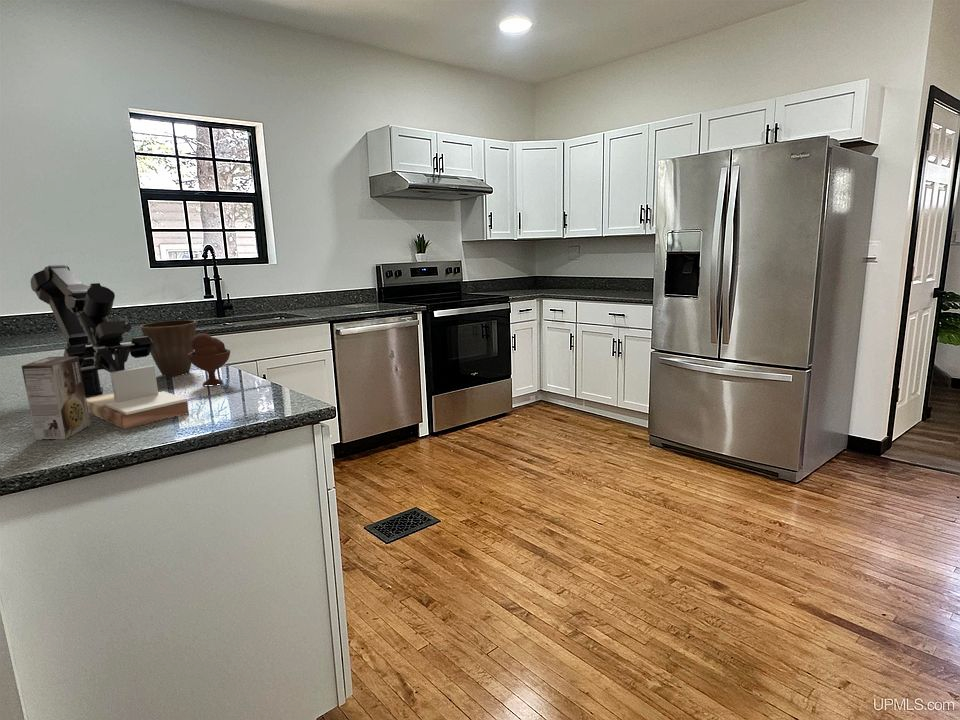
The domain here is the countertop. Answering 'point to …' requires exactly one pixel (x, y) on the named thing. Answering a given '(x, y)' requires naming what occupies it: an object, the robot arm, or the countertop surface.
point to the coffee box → (56, 397)
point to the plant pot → (171, 345)
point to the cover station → (125, 421)
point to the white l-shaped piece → (138, 391)
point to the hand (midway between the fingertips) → (122, 378)
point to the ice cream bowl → (208, 355)
